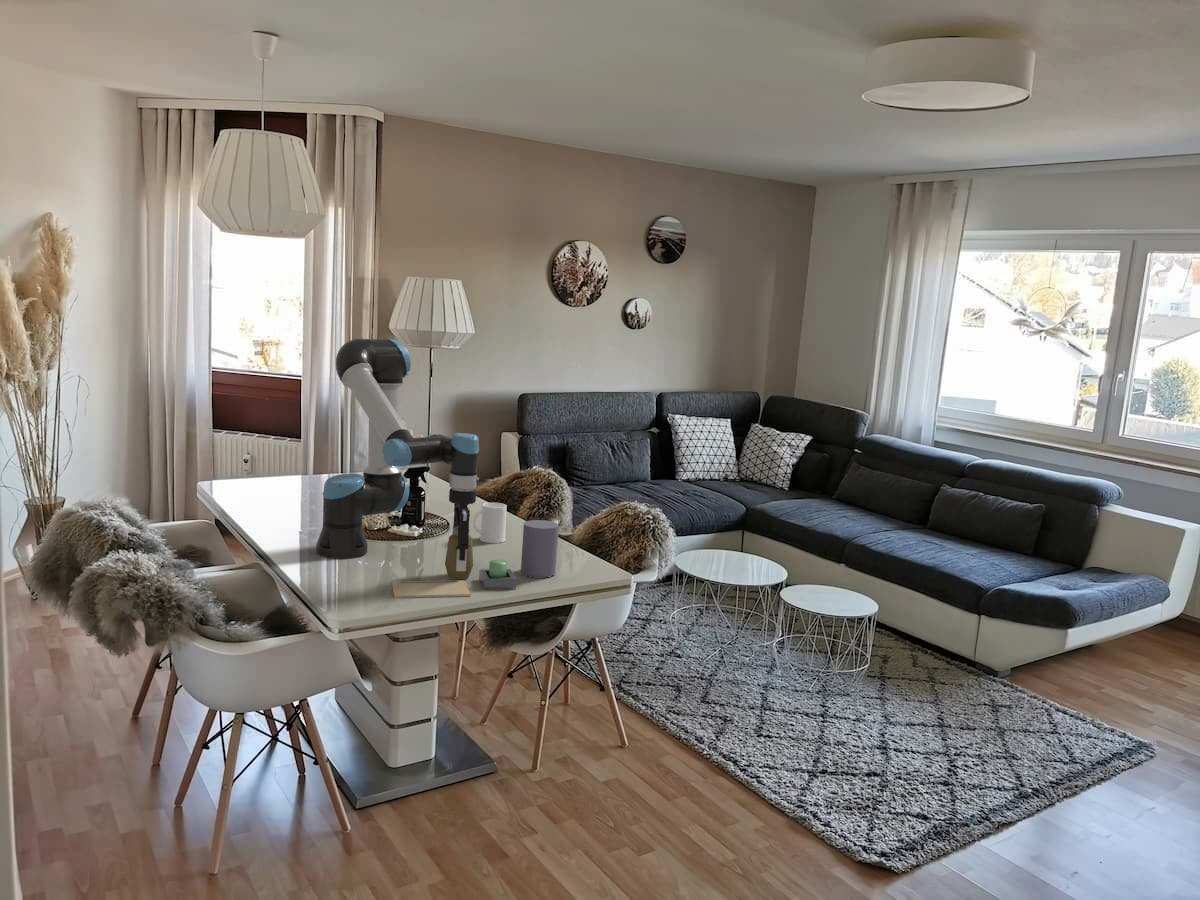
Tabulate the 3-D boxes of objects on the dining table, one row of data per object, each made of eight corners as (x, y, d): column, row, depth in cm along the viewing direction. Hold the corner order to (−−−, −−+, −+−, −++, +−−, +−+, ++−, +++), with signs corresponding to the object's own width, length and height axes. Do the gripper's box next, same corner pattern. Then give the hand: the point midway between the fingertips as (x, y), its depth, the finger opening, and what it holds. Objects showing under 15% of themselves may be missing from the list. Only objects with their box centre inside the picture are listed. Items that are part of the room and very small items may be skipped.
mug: (476, 545, 296) (478, 509, 294) (466, 538, 303) (468, 503, 301) (509, 542, 302) (511, 507, 300) (498, 536, 309) (500, 501, 308)
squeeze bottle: (445, 572, 264) (448, 512, 261) (473, 573, 265) (476, 513, 262) (442, 580, 256) (446, 518, 253) (471, 582, 257) (475, 520, 254)
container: (520, 567, 275) (523, 519, 273) (555, 569, 276) (558, 521, 273) (520, 577, 265) (523, 527, 262) (555, 579, 266) (559, 529, 263)
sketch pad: (394, 597, 239) (394, 595, 239) (391, 583, 250) (391, 581, 250) (470, 596, 245) (470, 594, 245) (464, 582, 256) (464, 580, 256)
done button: (490, 582, 254) (491, 564, 253) (487, 576, 258) (488, 559, 257) (507, 581, 255) (508, 564, 254) (504, 576, 260) (505, 559, 259)
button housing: (483, 589, 251) (484, 579, 251) (478, 579, 260) (479, 569, 259) (515, 589, 254) (516, 578, 253) (509, 579, 262) (510, 569, 262)
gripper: (481, 496, 248) (477, 577, 251) (471, 481, 267) (467, 556, 271) (454, 496, 246) (450, 577, 249) (445, 480, 265) (441, 556, 269)
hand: (458, 566), depth 260 cm, fingers closed on squeeze bottle, 8 cm apart
